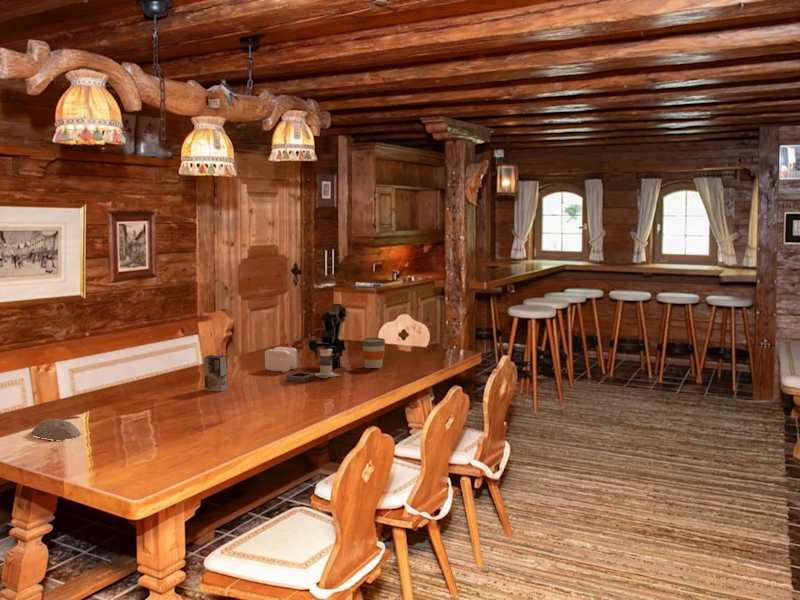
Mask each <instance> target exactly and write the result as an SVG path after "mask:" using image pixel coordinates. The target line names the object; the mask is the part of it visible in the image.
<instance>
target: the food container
mask: <svg viewBox="0 0 800 600" xmlns="http://www.w3.org/2000/svg"><path fill="white" fill-rule="evenodd" d="M31 434H32V435H34V436H37V437H40V438H47V439H53V440H65V439H72V438H75V439H77V438H76V437H78V438H80V437H81V436H82V433H81V432H80V430H79V428H77V427H76V426H75V425H74V424H73V423H71V422H69V421H67V420H64V419H60V418H46V419H45V420H42V421H39V423H38V424H37V425H36V426H35V427H34V428H33V429H32V431H31V432H30V435H31ZM80 435H81V436H80ZM79 436H80V437H79ZM72 440H73V439H72Z"/></svg>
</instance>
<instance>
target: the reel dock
mask: <svg viewBox="0 0 800 600" xmlns="http://www.w3.org/2000/svg"><path fill="white" fill-rule="evenodd" d="M315 374H316V373H312V372H311V373H310V372H301V371H300V372H299V371H297V372H293V373H292V374H287V375H286V378H285V379H286V380H289V381H288V382H293V381H298V382H297V383H304V382H305V383H307V382H309V380H310V381H312V380H311V379H313V380H315V379H316V377H315ZM314 378H315V379H314ZM306 381H307V382H306Z"/></svg>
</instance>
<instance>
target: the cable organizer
mask: <svg viewBox="0 0 800 600" xmlns="http://www.w3.org/2000/svg"><path fill="white" fill-rule="evenodd" d="M264 368H265V370H267V371H269V370H271V371H270V372H279V371H281V372H280V373H287V372H289V371H290V370H291V369H293V370H294V369H296V368H298V350H297V349H296V348H294V347H286V346H276V347H274V348H273V349H271V348H270V349H266V350H265V351H264Z"/></svg>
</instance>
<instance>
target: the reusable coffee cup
mask: <svg viewBox="0 0 800 600" xmlns="http://www.w3.org/2000/svg"><path fill="white" fill-rule="evenodd" d="M361 346H362V355H363V359H364V365H365V366H364V367H365V368H366V369H369V368H378V369H382V368H383V364H384V363H383V361H384V359H385V352H386V350H385V346H386V339H385V338H381V337H367V338H363V339H362V342H361ZM381 367H382V368H381Z"/></svg>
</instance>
